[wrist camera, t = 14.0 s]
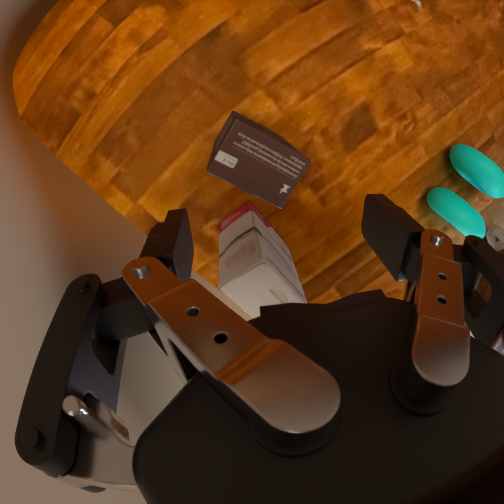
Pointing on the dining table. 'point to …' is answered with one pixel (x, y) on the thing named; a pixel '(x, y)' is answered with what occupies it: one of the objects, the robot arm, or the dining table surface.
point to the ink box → (255, 263)
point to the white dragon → (417, 3)
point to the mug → (500, 242)
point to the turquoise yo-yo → (476, 173)
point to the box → (256, 160)
